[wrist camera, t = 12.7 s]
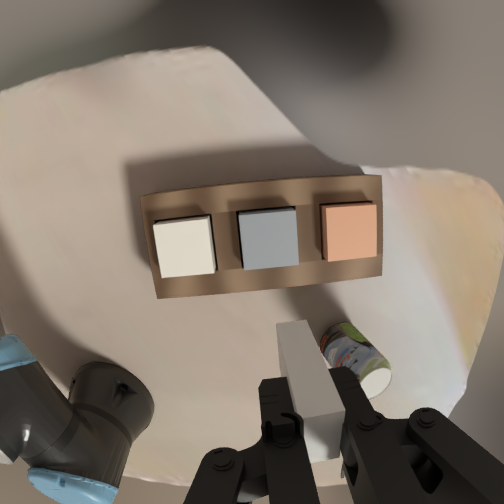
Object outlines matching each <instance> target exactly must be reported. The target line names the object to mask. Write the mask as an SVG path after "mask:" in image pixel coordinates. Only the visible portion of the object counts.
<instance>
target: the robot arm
mask: <svg viewBox="0 0 504 504" xmlns="http://www.w3.org/2000/svg"><path fill="white" fill-rule="evenodd" d="M276 328H277V340H278V352H279V364H280V371H281V376H282V377H279V378H271V379H263V380H262V382H261V384H260V386H259V388H258V389H259V399H260V410H261V420H262V424H261V430H262V436H261V439H260V440H259V441H258V442H257V443H256V444H255V445H253V446H252V447H249V448H247V449H244V450H241V451H237V450H235V449H232V448H228V447H223V448H217V449H213V450H211V451H210V452H208V453H207V454H206V455H205V456H204V458H203V459H202V461H201V464H200V466H199V468H198V471H197V473H196V475H195V478H194V480H193V482H192V485H191V487H190V489H189V492H188V494H187V496H186V499H185V501H184V503H183V504H252V501H253V500H255V499H258V498H261V497H264V496H266V495H269V502H270V504H320V501H319V497H318V493H317V489H316V485H315V480H314V476H313V472H312V468H311V464H310V463H314V462H319V461H324V460H329V459H334V458H339V456H340V450H341V453H342V456H343V464H342V470H341V478H344V475H345V477H346V480H347V483H348V486H349V489H350V492H351V495H352V499H353V501H354V504H504V464H502V463H501V462H500V461H499V460H497V459H496V458H495V457H494V456H493V455H491V454H490V453H489V452H488V451H487V450H485V449H484V448H483V447H482V446H480V445H479V444H478V443H477V442H476V441H474V440H473V439H472V438H471V437H470V436H468V435H467V434H466V433H465V432H463V431H462V430H461V429H460V428H459V427H457V426H456V425H455V424H454V423H453V422H451V421H450V420H449V419H448V418H447V417H445V416H444V415H443V414H442V413H440V412H439V411H437V410H436V409H433V408H428V407H427V408H420V409H417V410H415V411H414V412H413V413H412V414H411V415H410V417H409V419H388V418H385V417H384V416H383V415H382V414H381V413H379V412H377V411H375V410H374V409H373V407H372V405H371V403H370V402H369V400H368V398H367V396H366V394H365V392H364V390H363V388H362V387H361V385H360V383H359V381H358V379H357V377H356V375H355V373H354V372H353V371H352V370H351V369H349V368H348V367H346V366H341V367H336V368H331V369H328V368H327V366H326V364H325V361H324V359H323V357H322V354H321V352H320V350H319V347H318V345H317V343H316V341H315V338H314V336H313V334H312V331H311V329H310V327H309V325H308V322H307V320H299V321H292V322H285V323H277V324H276ZM37 360H38V359H37V358H36V357H34V356H33V354H32V353H31V352H30V350H29V349H28V348H27V346H26V345H25V344H24V342H23V341H22V340H21V339H20V338H19V337H18V336H16V335H14V334H7V335H5V336H3V337H1V338H0V463H3V464H12V463H13V462H14V461H15V460H16V459H17V458H18V456H20V457H21V458H22V459H23V460H24V461H25V462H26V463H27V464H28V465H29V466H30V467H31V468H29V469H28V475H27V477H28V479H29V481H30V482H31V484H32V485H33V486H34V487H35V488H36V489H38V490H39V491H40V492H42V493H43V494H45V495H47V496H48V497H50V498H52V499H53V500H56V501H57V502H60V503H62V504H112V502H113V500H114V497H115V495H116V494H117V493H118V488H119V484H120V481H121V478H122V474H123V471H124V468H125V464H126V461H127V458H128V455H129V451H130V448H131V445H132V443H133V442H134V441H135V439H136V438H137V437H138V436H139V435H140V434H141V433H142V431H144V430H145V429H146V428H147V427H148V425H149V424H150V422H151V419H152V416H153V413H154V402H153V399H152V396H151V394H150V393H149V391H148V390H147V388H146V387H145V386H144V385H143V384H142V383H141V382H140V381H139V380H138V379H137V378H136V377H135V376H133V375H132V374H130V373H129V372H127V371H126V370H124V369H122V368H120V367H117V366H115V365H112V364H108V363H102V362H92V363H88V364H85V365H83V366H82V367H81V368H80V369H79V370H78V371H77V373H76V374H75V376H74V377H73V379H72V381H71V386H70V392H69V398H68V400H67V398H66V397H65V396H64V395H63V394H62V392H61V391H60V390H59V389H58V388H57V386H56V385H55V384H54V383H53V381H52V380H51V379H50V377H49V376H48V375H47V373H46V372H45V371H44V369H43V368H42V367H41V365H40V364H39V362H38V361H37Z"/></svg>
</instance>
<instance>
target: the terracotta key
mask: <svg viewBox="0 0 504 504" xmlns="http://www.w3.org/2000/svg"><path fill="white" fill-rule="evenodd" d="M319 212H320V232H321V255H322V256H323V257H324V258H325V259H326V260H327V261H328V262H331V261H340V260H349V259H358V258H366V257H375V256H377V211H376V204H372V203H369V202H365V201H352V202H336V203H322V204H319Z"/></svg>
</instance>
